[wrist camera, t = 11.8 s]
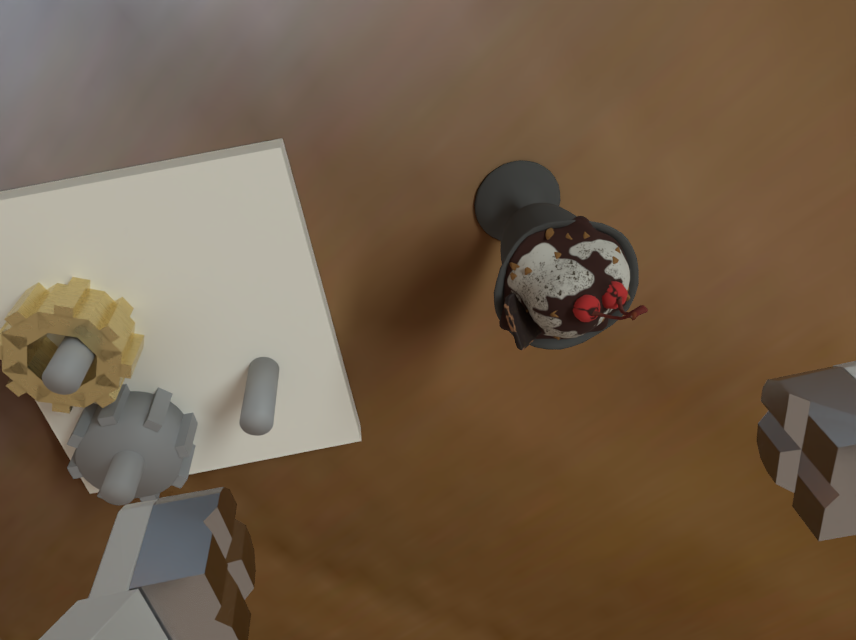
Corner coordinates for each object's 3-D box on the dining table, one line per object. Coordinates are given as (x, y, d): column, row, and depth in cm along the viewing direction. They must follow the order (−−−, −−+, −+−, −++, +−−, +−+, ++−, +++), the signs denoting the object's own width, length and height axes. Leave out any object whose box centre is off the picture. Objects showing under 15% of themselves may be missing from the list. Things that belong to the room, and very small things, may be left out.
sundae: (589, 152, 39) (711, 281, 26) (556, 260, 42) (650, 420, 30) (474, 134, 38) (544, 261, 25) (449, 247, 41) (501, 408, 29)
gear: (-17, 315, 38) (-41, 346, 36) (82, 255, 37) (64, 282, 35) (76, 398, 42) (60, 431, 39) (170, 345, 41) (159, 376, 38)
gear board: (-60, 202, 37) (-136, 264, 31) (282, 138, 37) (272, 187, 31) (96, 477, 47) (62, 562, 41) (360, 426, 47) (364, 503, 42)
